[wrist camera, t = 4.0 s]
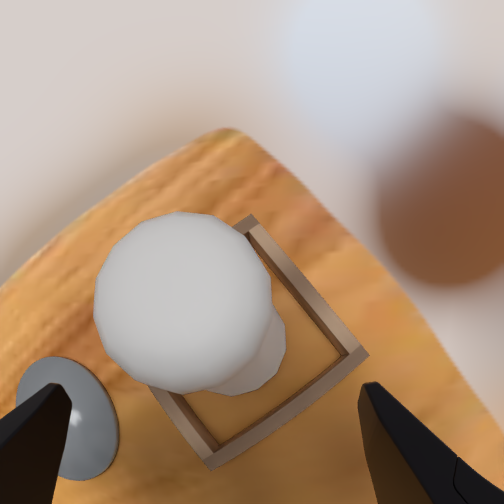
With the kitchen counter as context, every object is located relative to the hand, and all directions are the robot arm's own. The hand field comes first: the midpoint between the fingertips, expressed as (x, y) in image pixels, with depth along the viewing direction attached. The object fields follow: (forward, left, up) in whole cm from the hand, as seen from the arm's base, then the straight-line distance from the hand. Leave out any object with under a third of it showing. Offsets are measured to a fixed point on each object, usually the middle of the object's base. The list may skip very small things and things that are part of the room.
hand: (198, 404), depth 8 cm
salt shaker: (+2, +1, -10) cm, 11 cm away
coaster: (-7, +11, -10) cm, 16 cm away
